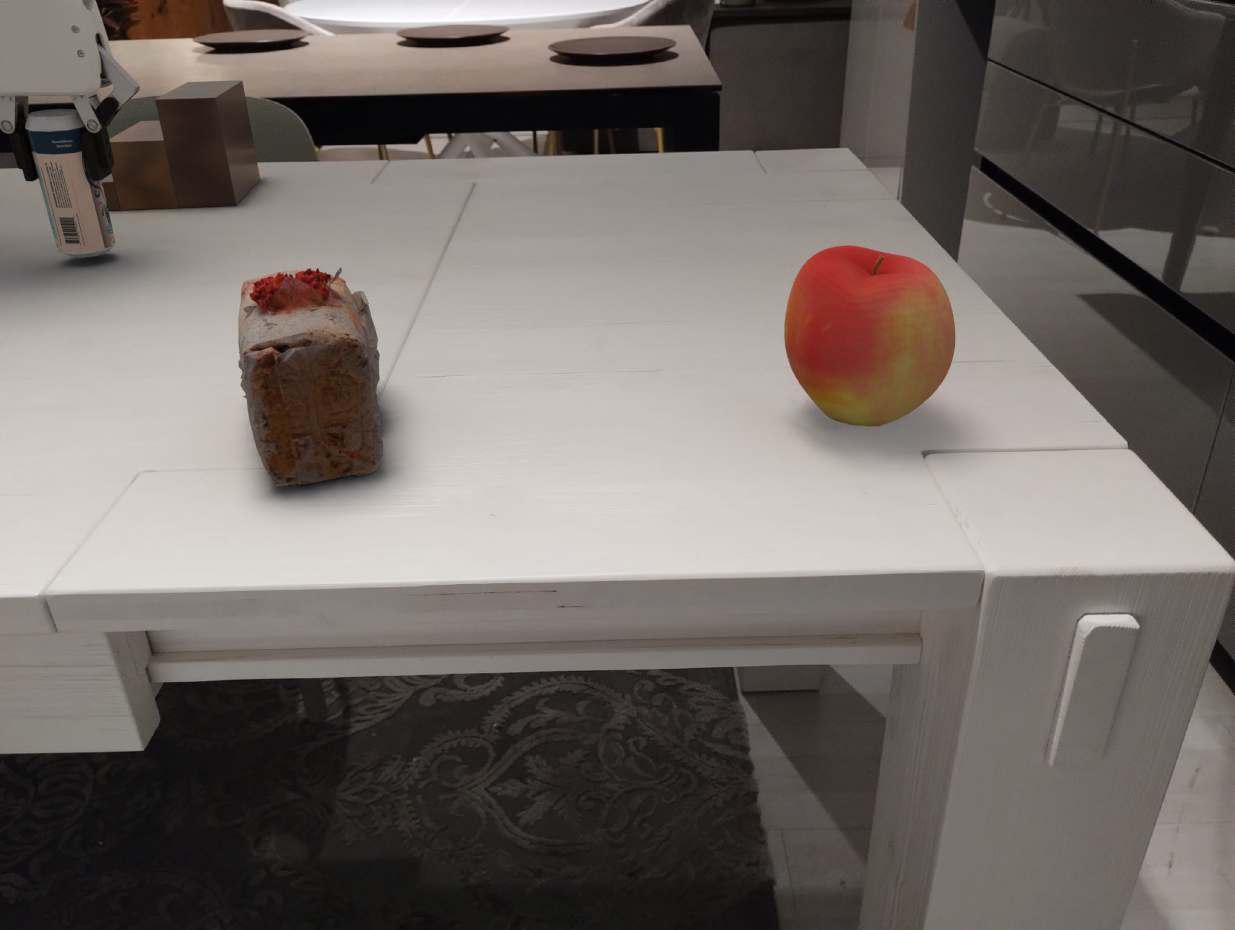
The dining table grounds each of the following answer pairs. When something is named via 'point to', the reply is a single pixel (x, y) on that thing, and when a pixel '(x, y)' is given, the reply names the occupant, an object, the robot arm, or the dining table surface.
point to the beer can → (69, 184)
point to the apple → (868, 334)
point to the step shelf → (186, 152)
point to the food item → (310, 376)
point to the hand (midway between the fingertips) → (69, 175)
